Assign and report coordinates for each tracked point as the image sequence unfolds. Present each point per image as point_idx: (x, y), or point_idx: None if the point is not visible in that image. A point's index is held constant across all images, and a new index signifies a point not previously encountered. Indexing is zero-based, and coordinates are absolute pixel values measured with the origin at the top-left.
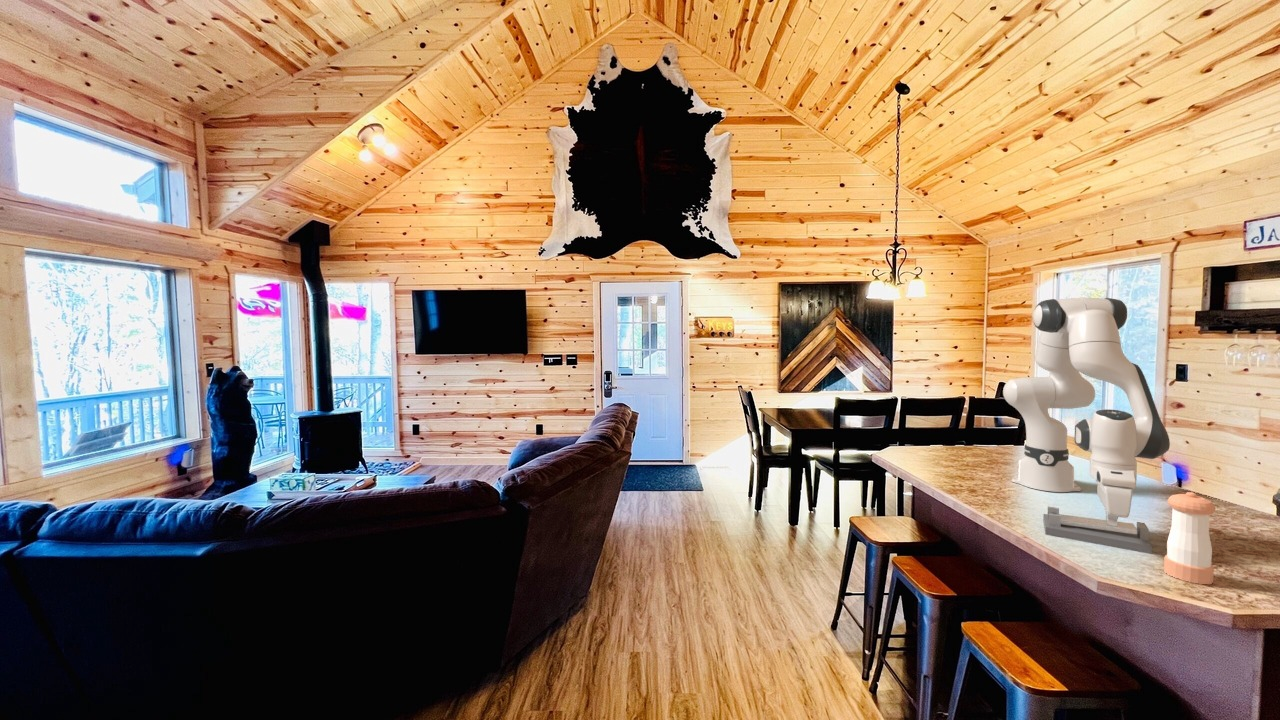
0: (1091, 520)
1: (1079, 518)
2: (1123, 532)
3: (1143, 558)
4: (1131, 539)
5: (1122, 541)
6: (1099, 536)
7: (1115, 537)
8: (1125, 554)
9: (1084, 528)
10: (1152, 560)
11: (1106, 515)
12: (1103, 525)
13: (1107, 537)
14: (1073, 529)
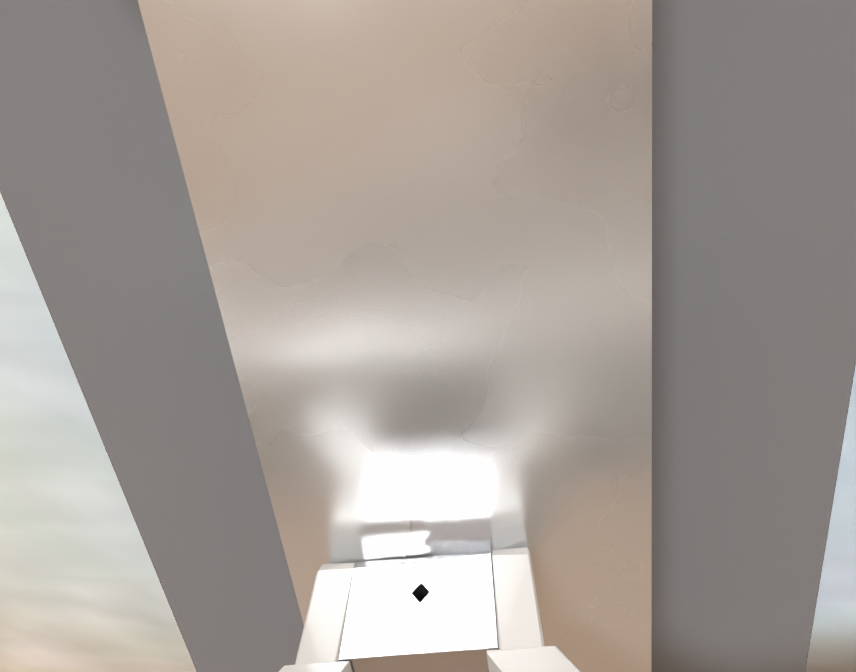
0: (470, 337)
1: (488, 124)
2: None
3: (55, 615)
4: (298, 636)
5: (163, 563)
6: (77, 375)
7: (224, 521)
8: (22, 516)
9: None
10: (68, 658)
11: (484, 657)
12: (275, 494)
13: (135, 451)
14: (93, 23)
